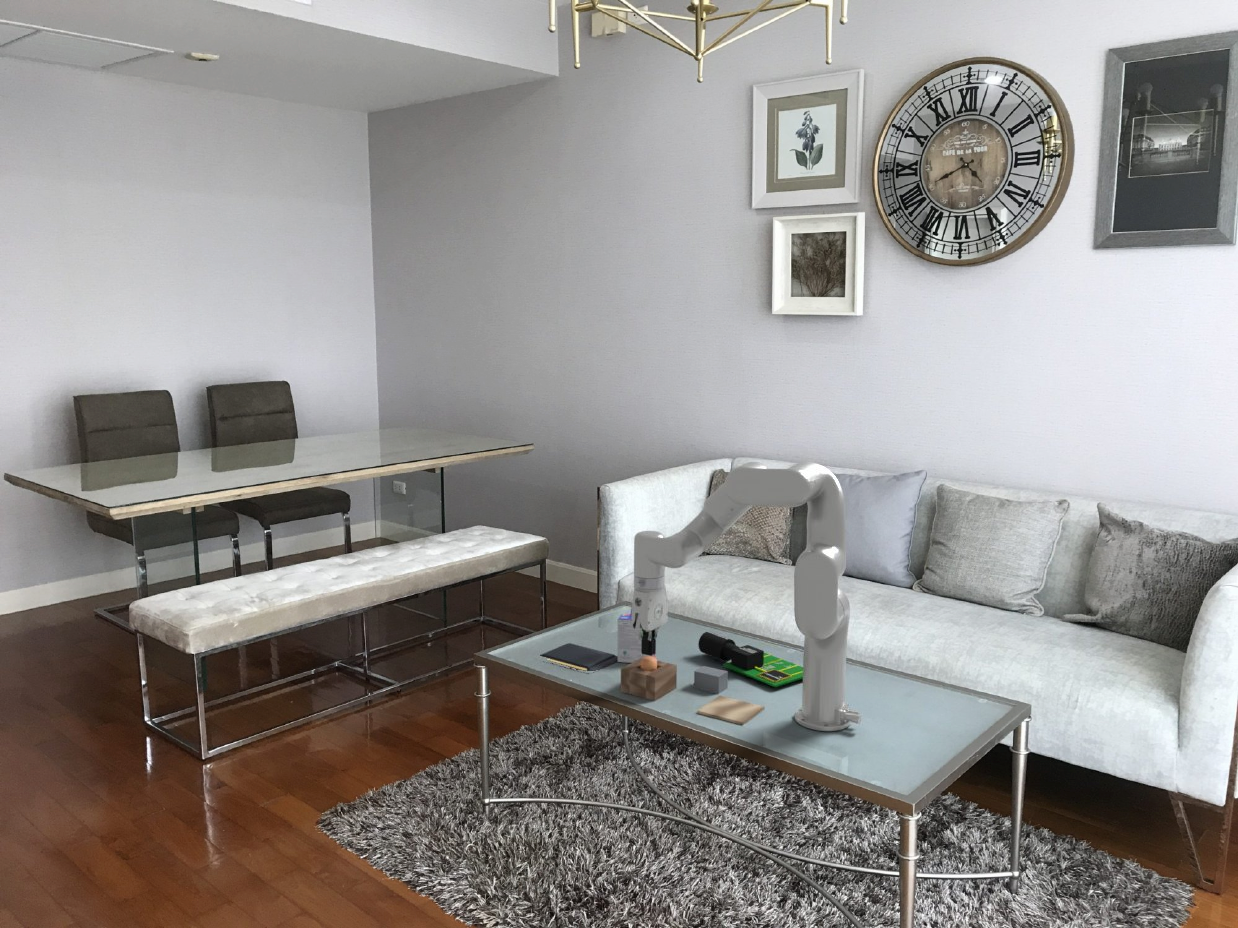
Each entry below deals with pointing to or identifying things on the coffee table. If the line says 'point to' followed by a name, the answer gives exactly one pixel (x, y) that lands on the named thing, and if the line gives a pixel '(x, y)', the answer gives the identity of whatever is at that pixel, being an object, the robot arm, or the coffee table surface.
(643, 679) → the walnut housing
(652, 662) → the orange ball
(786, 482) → the robot arm
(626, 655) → the ink cartridge box
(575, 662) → the wallet
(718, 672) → the gray rectangular block
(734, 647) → the circuit board with cylinder
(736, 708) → the oak board
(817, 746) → the coffee table surface
